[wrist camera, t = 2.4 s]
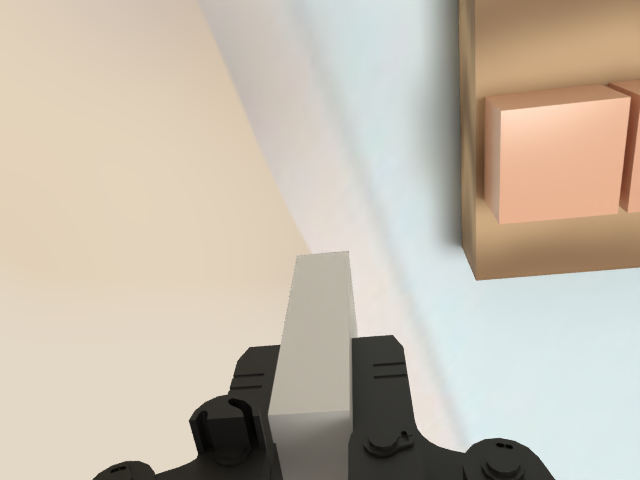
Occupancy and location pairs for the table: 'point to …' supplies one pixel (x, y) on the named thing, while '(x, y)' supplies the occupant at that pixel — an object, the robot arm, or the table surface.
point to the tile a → (554, 153)
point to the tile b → (631, 148)
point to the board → (532, 75)
